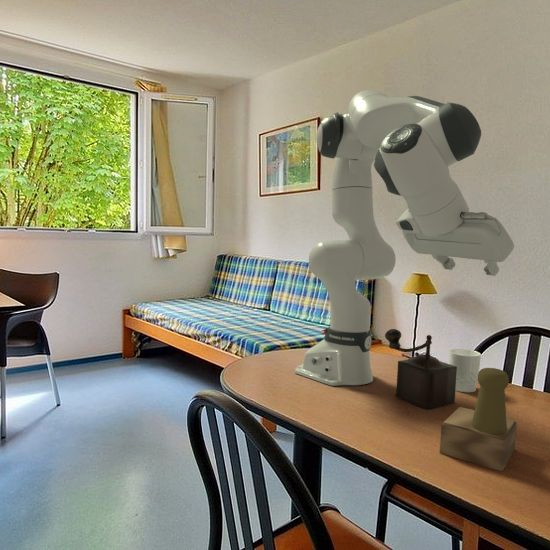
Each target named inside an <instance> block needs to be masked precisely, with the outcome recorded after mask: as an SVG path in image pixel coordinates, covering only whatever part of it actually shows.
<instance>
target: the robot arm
mask: <svg viewBox="0 0 550 550" xmlns="http://www.w3.org/2000/svg"><path fill="white" fill-rule="evenodd" d="M481 136H482V130H481V127H480V124H479V122H478V120H477V119H476V116H474V114H473V113H472V112H471V111H470V109H468V107H466V106H465V105H462V104H460V103H455V102H447V103H443V102H439V101H436V100H434V99H429V98H426V97H423V96H419V95H412V96H411V95H409V96H399V97H389V96H388V95H386V94H385V93H383V92H381V91H379V90H374V89H365V90H361V91H359V92H357V93H355V95H354V96H353V97H352V98H351V100H350V102H349V104H348V107H347V112H346V113H345V114H343V113H339V112H338V111H336V112H335V113H334V114H333V115H329V116H327V117H325V118H324V119H323V120H321V121H320V123H319V125H318V128H317V130H316V137H315V140H316V141H315V143H316V145H317V149H318V152H319V154H320V155H321V156H322V157H324V158H328V159H332V160H333V159H335V161H334V165H333V170H332V171H333V172H332V185H331V189H332V190H331V199H332V200H331V204H332V205H331V206H332V207H331V208H332V209H331V210H332V211H331V212H332V213H331V214H332V215H331V216H332V219H333V221H334V222H335V223H336V224H337V225H339V226H340V227H342V228H343V229H344V231H346V233H347V235H348V239H330V240H324V241H321V242H317V243H315V245H313V247H312V248H311V249H310V252H309V256H308V265H309V266H308V267H309V268H310V271H311V273H312V274H313V275H314V276H315V277H316V278H317V279H319V281H320V282H322V285H324V286H323V287H325V290H326V291H327V294H328V298H329V307H330V308H329V309H330V314H329V315H330V317H329V318H330V320H329V321H330V322H329V324H330V325H329V326H328V327H326V328H325V329H323V330H321V335H324V338H323V339H321V340H320V341H319V342H317V343H316V344H315V345H313V346H312V347H310V348H308V350H307V351H306V352H305V354H304V357H303V362H302V364H300V365H297V366H296V367H295V369H294V374H297V375H298V376H299V375H300V376H302V377H306V378H309V379H310V380H313V381H318V382H319V383H323V384H326V385H328V386H333V387H335V386H361V385H363V386H364V385H366V384H370V383H372V382H373V381H374V375H373V373H372V367H371V356H370V350H371V345H372V330H371V328H370V327H371V311H372V310H371V309H372V306H371V305H372V304H371V302H370V300H369V299H368V298H367V296H365V295H364V294H362V293H360V292H359V291H358V289H357V285H356V280H359V281H361V280H363V281H364V280H377V279H380V278H384V277H385V278H386V277H387V276H389V275H390V274H392V272H393V271H394V269H395V266H396V254H395V251H394V249H393V247H392V246H391V245H390V244H389V243H388V242H386V241H385V239H384V238H383V236H382V235H381V233H380V232H379V229H378V227H377V225H376V224H377V223H376V220H375V215H374V204H373V202H374V200H373V176H372V165H373V167H374V170H375V171H376V172H377V174H378V175H379V176H380V177H381V179H382V180H383V182H384V184H385V187H386V190H387V192H388V193H390V194H393V195H396V196H399V197H400V196H401V197H402V198H404V200H405V201H406V205H407V208H406V209H405V211H404V212H403V213H402V214H401V215H400V216H399V218H397V220H396V221H395V223H396V226H397V228H398V229H400V230H401V232H402V235H403V237H404V239H405V240H406V242H407V244H408V245H409V247H410V248H411V249H412V251H414V252H415V253H417V254H420V255H421V254H423V255H430V256H431V257H432V258H433V259H434V260H435V261H437V262H438V263H439V264H441V266H442V267H443V269H444V270H448V271H450V270H451V271H452V270H454V268H455V267H456V262H455V261H454V258H460V259H468V260H470V259H471V260H477V261H478V260H479V261H484V263H485V264H486V265H485V266H484V268H483V271H484V272H485V274H486V275H487V276H493V277H496V276H497V274H498V273H499V271H500V268H499V266H498V263H502V262H505V261H506V259H507V258H508V257H509V256H510V255H511V254H512V252H513V251H514V248H515V244H514V242H513V240H512V238H511V237H510V235H509V233H508V231H507V230H506V228H505V227H504V225H503V224H502V223H501V222H500V220H499V219H498V218H497V217H494V216H492V215H490V214H488V213H487V212H485V211H484V212H482V211H481V212H480V211H479V212H473V211H470V208H469V206H468V204H467V202H466V200H465V197H464V196H463V193H462V192H461V190H460V187H459V185H458V184H457V183H456V182H455V181H454V180H453V179H452V177H451V174H450V171H449V170H450V169H449V167H450V166H452V165H453V164H455V163H457V162H461V161H463V160H464V159H467V158H468V157H471V156H472V155H474V154H475V152H476V150H477V148H478V145H479V144H480V140H481Z"/></svg>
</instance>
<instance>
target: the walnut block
mask: <svg viewBox="0 0 550 550" xmlns="http://www.w3.org/2000/svg"><path fill="white" fill-rule="evenodd" d="M474 411H475V409H471V408H467V407H462V406H459V407H458V408H457V409H456V410H454V411H453V413H451V414H450V416H448V417H447V418H446V419H445V420H444V421H443V422H442V423H441V427H440V438H439V439H440V440H439V441H440V443H439V453H440V454H443V455H446V456H449V457H453V458H455V459H456V458H457V459H460V460H463V461H467V462H470V463H472V464H476V465H479V466H481V467H482V466H483V467H486V468H489V469H493V470H496V471H499V472H504V469H505V468H506V466H507V465H508V463H509V460H510V459H511V457H512V456H513V454H514V452H515V450H516V440H517V427H518V426H517V425H518V422H517V421H516V420H515V419H513V418H509V417H506V422H507V432H506V433H505V434H501V435H494V434H488V433H484V432H481V431H478V430H476V429H475V428H473V427H472V425H471V424H472V420H473V416H474Z"/></svg>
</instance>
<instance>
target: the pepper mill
mask: <svg viewBox="0 0 550 550" xmlns="http://www.w3.org/2000/svg"><path fill="white" fill-rule="evenodd" d="M384 338H385V340H387V341H388V342H389V344H388V348H389V349H392V350H396V351H399V352H403V353H413V352H415V356H411V357H409V358H408V359H402V360H398V362H397V371H396V373H397V374H396V375H397V377H396V388H395V389H396V390H395V391H396V392H395V397H397V398H398V399H400V400H402V401H404V402H406V403H408V404H411V405H412V406H415V407H418V408H420V409H424V410H434V408H435V409H438V408H442V407H445V405H446V406H448V404H449V405H452V404H455V402H456V390H455V388H456V373H457V367H456V366H453V365H450V364H449V363H448V362H443V361H440V360H439V359H438V358H436V357H434V356H432V355H431V353H430V352H431V345H432V344H433V342H432V339H433V337H432V335H431V334H428V335H426V338H425V339H426V340H425V342H424V343H423V344H421V345H418V346H415V347H411V348H403V347H401V346H402V345H401V344H400V340H401V338H402V332H401V331H400V330H399V329H396V328H391V329H388V330H387V331H386V332H385V334H384ZM425 348H426V349H425ZM423 349H425V354H419V352H417V351H420V350H423Z"/></svg>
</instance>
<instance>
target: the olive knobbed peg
mask: <svg viewBox="0 0 550 550" xmlns="http://www.w3.org/2000/svg"><path fill="white" fill-rule="evenodd" d="M509 378H510V377H509V375H508V373H507V372H506V371H504V370H502V369H499V368H497V367H496V368H495V367H484V368H482V369H479V373H478V381H477V384H479V385H480V386H479V390H478V394H477V399H476V404H475V407H474V410H475V411H474V416H473V420H472V424H471V425H472V427H473V428H475V429H476V430H478V431H481V432H484V433H488V434H494V435H501V434H505V433H506V432H507V422H506V418H507V407H506V405H507V404H506V393H505V392H506V389H507V387H508V386H509V381H510V379H509Z"/></svg>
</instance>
